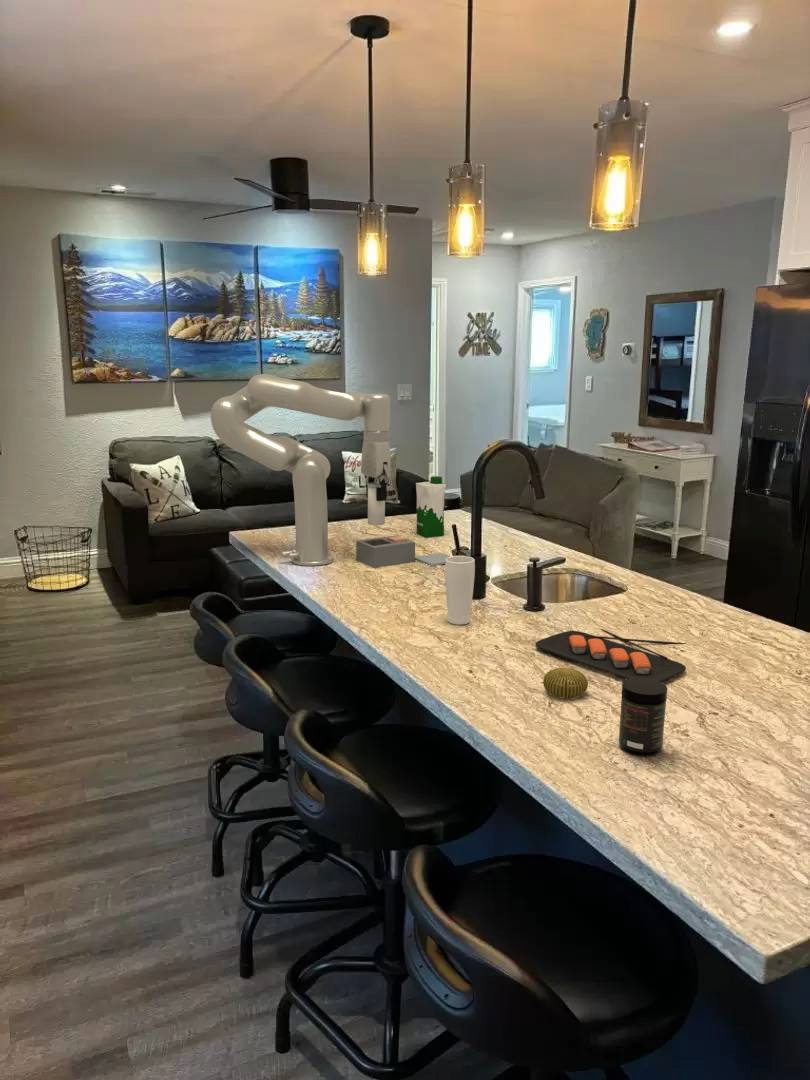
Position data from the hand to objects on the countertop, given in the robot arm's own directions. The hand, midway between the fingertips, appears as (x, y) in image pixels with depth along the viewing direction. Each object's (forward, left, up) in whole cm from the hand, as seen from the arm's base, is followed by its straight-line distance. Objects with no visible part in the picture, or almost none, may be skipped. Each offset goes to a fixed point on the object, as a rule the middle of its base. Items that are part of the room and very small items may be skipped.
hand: (376, 498), depth 236 cm
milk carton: (+34, +23, -19) cm, 45 cm away
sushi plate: (+9, -92, -20) cm, 95 cm away
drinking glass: (-11, -58, -19) cm, 62 cm away
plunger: (+7, 0, -18) cm, 19 cm away
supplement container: (-22, -123, -20) cm, 127 cm away
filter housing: (+3, 0, -19) cm, 19 cm away
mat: (+16, -8, -19) cm, 26 cm away
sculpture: (-18, -101, -20) cm, 104 cm away
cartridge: (0, 0, -8) cm, 8 cm away
